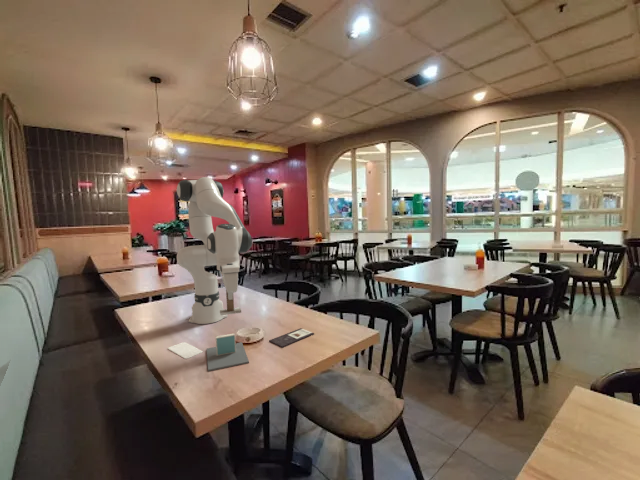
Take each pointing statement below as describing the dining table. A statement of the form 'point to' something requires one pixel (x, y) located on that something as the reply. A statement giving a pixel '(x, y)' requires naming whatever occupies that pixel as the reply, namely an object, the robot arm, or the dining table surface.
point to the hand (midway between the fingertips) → (229, 297)
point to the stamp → (230, 307)
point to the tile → (225, 344)
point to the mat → (226, 358)
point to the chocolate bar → (291, 337)
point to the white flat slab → (185, 350)
